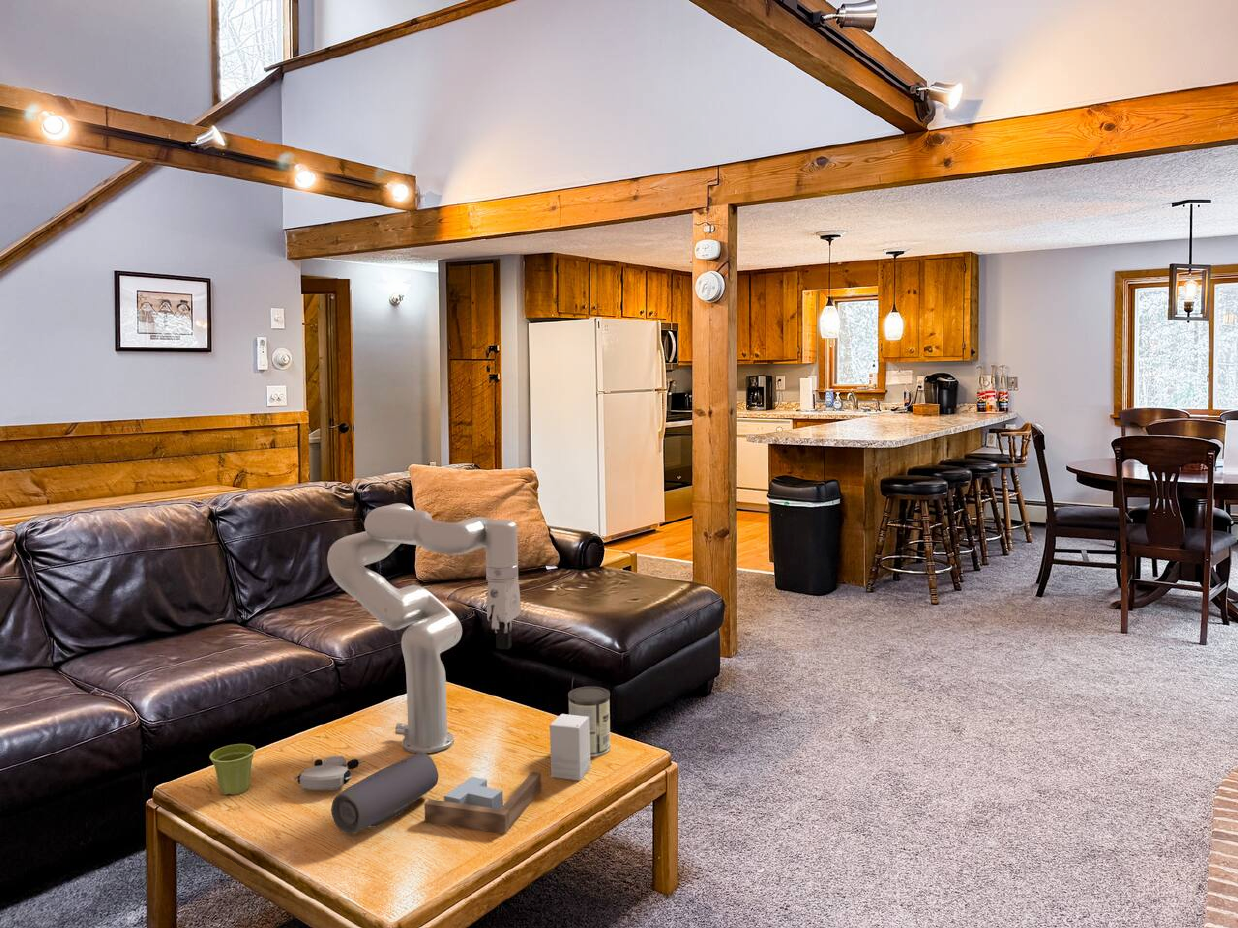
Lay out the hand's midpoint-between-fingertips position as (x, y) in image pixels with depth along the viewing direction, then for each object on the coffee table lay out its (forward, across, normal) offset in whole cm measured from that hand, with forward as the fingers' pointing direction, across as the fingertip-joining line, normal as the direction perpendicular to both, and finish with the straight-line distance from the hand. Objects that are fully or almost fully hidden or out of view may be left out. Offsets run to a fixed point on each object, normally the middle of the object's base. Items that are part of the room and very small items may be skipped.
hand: (503, 647), depth 216 cm
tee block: (+27, -25, -4) cm, 37 cm away
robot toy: (+28, -23, +34) cm, 49 cm away
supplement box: (+27, -4, -18) cm, 33 cm away
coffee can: (+27, +10, -18) cm, 34 cm away
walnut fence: (+27, -24, -6) cm, 37 cm away
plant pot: (+27, -32, +52) cm, 67 cm away
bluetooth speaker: (+27, -34, +12) cm, 45 cm away
